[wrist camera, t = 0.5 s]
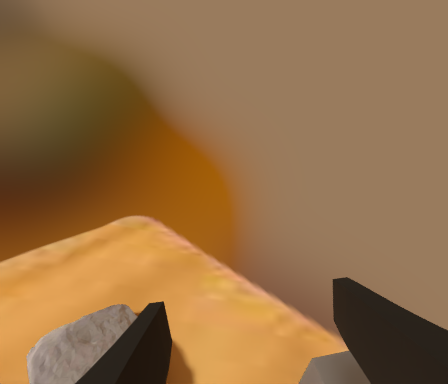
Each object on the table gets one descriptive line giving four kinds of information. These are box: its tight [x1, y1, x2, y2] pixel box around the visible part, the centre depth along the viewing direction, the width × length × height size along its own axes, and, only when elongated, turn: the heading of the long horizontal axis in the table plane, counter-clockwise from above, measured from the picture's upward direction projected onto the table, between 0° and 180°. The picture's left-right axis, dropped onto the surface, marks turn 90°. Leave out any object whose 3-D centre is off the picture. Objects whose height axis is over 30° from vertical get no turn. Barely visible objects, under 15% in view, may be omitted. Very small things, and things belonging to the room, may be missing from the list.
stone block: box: [26, 304, 138, 384], centre depth 22 cm, size 12×5×10 cm
